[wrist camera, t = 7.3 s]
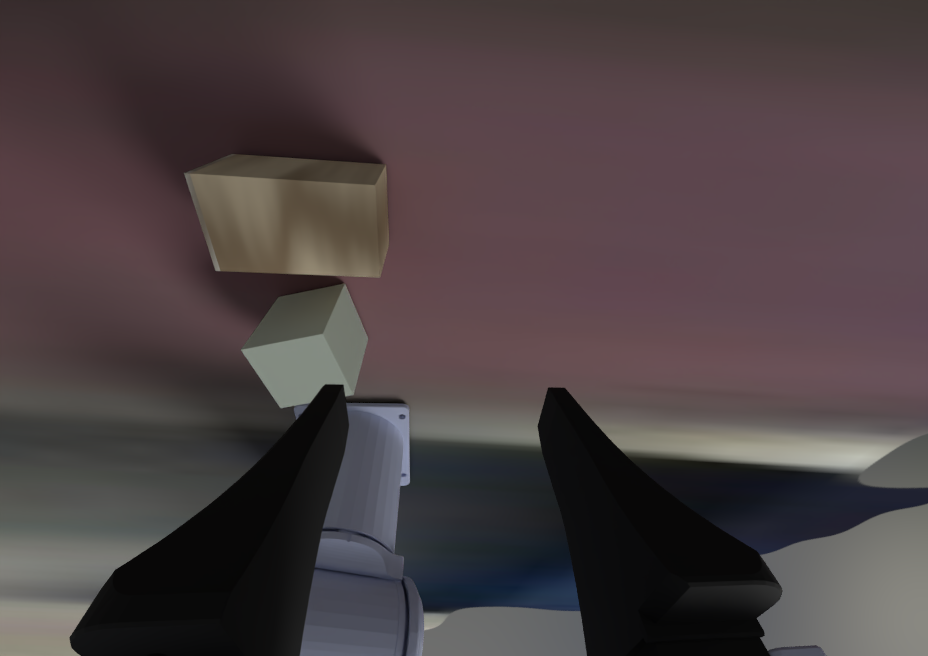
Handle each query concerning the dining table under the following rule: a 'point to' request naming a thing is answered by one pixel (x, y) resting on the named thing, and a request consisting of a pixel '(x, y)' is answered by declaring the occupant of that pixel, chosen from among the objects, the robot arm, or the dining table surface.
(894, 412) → the dining table surface
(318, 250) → the maple block
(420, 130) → the dining table surface
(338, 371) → the sage block
